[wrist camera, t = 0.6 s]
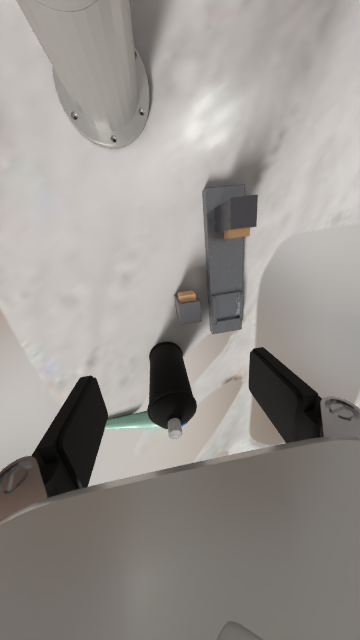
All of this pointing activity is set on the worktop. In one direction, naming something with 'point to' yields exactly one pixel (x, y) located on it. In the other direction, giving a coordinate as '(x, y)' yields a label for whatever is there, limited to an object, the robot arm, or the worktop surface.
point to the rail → (226, 252)
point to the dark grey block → (188, 307)
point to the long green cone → (131, 422)
